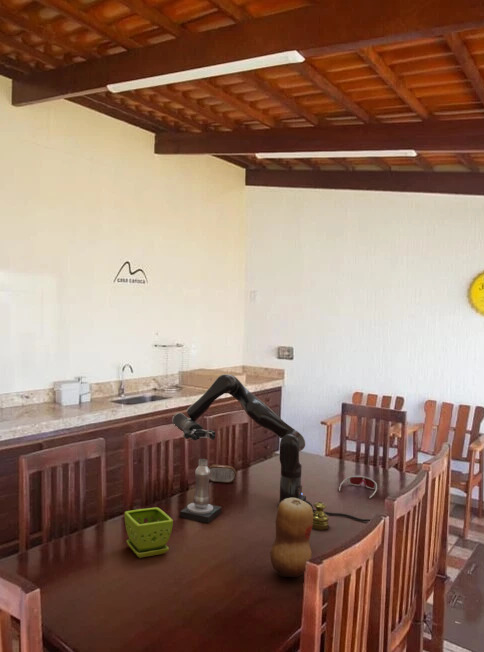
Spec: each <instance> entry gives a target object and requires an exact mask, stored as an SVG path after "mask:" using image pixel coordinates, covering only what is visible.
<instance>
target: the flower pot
mask: <svg viewBox="0 0 484 652" xmlns="http://www.w3.org/2000/svg"><path fill="white" fill-rule="evenodd" d="M145 520H147V521H146V522H145ZM124 524H125V530H126V534H127V536H128V539H126V541H125V542H126V544H127V545H128V547H129V548H130V549H131V551H133V553H134V554H135V555H136V556H137V557H138V558H139V559H142V558H146V557H152V556H159V555H164V554H165V553H167V552H168V551H169V550H170V549H169V547H168V546H167V543H168V541H169V539H170V538H171V534H172V531H173V525H174V520H173V519H172V517H171V516H169V515H168V514H167V513H166V512H165V511H163V510H162V509H161V508H160V507H157V506H156V507H147V508H139V509H131V510H126V511H124Z"/></svg>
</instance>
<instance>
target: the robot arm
mask: <svg viewBox="0 0 484 652" xmlns="http://www.w3.org/2000/svg"><path fill="white" fill-rule="evenodd" d="M224 394H229V395H230V396H231V397H233V399H235V400H236V401H238V402H239V404H240V405H241V406H242V408H243V410H244V412H245V414H247V416H248V417H249V418H250V419H252V421H253V422H255V423H256V424H257V425H259V426H260V427H262V428H264V429H266V430H268V431H270V432H272V433H273V434H275V435H276V436H278V437H279V438H280V441H279V462H280V463H279V464H280V477H279V479H280V480H279V500H278V502H279V503H278V505H279V504H280V503H281V501H283V500H284V499H286V498H296V492H298V499H300V500H302V501H305V502H306V503H308V504H309V505H310V506H311V507H312V510H313V513H314V512H315V511H316V509H314V505H313V504H312V503H311V502H309V501H308V500H307V496H306V495H303V485H302V471H303V470H302V469H303V466H302V465H303V464H302V462H301V461H300V452H301V451H303V450H304V449H305V447H306V440H305V436H303V435H302V434H301V433H300V432H299V431H298V430H297V429H295V428H293V427H292V426H291V425H289V424H288V423H287V422H286V421H284V420H283V419H282V418H281V417H280V416H279V415H278V414H276V413H275V412H274V411H273V410H272V409H271V408H270V407H269V406H268V405H267V404H266V403H264V401H262V400H260V399H259V398H258V397H257V396H256V395H255V394H254V393H252V392H251V391H250V390H249V389H248V388H246V387H245V386H244V384H243V383H242V382H241V380H239V379H238V378H237V377H236V376H235V375H233V374H229V373H225V374H224V373H223V374H221V375H219V376H218V377H216V379H215V380H214V381H213V383H212V384H211V385H210V386H209V388H208V389H207V390H206V391H205V392H204V393H203V394H202V395H201V396H200V397H199V398H198V399H197V400H196V401H194V402H193V403H192V404H191V405H190V406H188V408H187V409H186V414H187V415H188V417H187V416H186V415H185V414H184V413H182V412H177V413H176V414H174V415H173V416H172V421H171V422H172V424H173V425H174V424H175V425H174V427H176V426H177V427H178V428H177V427H176V428H177V429H179V430H180V431H181V432H182V431H183V432H182V434H183V435H182V436H183V437H184V438H185V439H186V440H188V439H190V440H193V441H195V442H197V440H200V439H210V440H212V441H214V440H215V439H216V434H217V433H216V431H214V430H212V429H208V430H207V429H204V428H203V425H201V424H199V423H198V422H197V421H198V419H199V418H200V417H201V416H203V415H204V414H205V413H206V412H207V411H208V410H209V408H211V406H212V405H213V403H214V402H215V401H216V400H217V399H218V398H220V397H221V396H223V395H224ZM323 512H324V513H325V514H326V515H328V516H329V515H330V516H343V517H347V518H350V519H354V520H356V521H359V522H369V521H370V520H372V519H370V518H359V517H356V516H353V515H350V514H347V513H340V512H331V511H330V512H328V511H323Z"/></svg>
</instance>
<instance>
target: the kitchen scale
mask: <svg viewBox="0 0 484 652" xmlns="http://www.w3.org/2000/svg"><path fill="white" fill-rule="evenodd" d="M222 510H223V506H219V505H216V504H210V503H209V505H208V506H207V507H205V508H198V507H196V506H195V505H194V501H193V502H191V503H188V505H187V506H185V507H184V508H183V509H181V510H180V511H179V517H180V518H183V519H187V520H192V521H197V522H201V523H205V524H209V523H210V522H212V521H213V520H214V519H216V518H217V517H218V516H219V515H220V514H221V513H222Z"/></svg>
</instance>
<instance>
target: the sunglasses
mask: <svg viewBox="0 0 484 652" xmlns="http://www.w3.org/2000/svg"><path fill="white" fill-rule="evenodd" d="M344 483H347V484H349V485H350V486H356V487H360V486H361V485H362V483H363V484H364V486H365V487H366V488H367V489H369V490H370V489H371V490H374V491H373V493H372V494H370V496H369V499H371V498H373V496H375V494H376V493H377V491H378V484H377V482H376V481H375V480H374V479H373V478H370V477H368V476H364V475H351V476H347V477H345V479H343V480H342V481H341V482H340V484H339V488H338V490H339V491H338V492H341V488H342V485H343V484H344Z"/></svg>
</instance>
